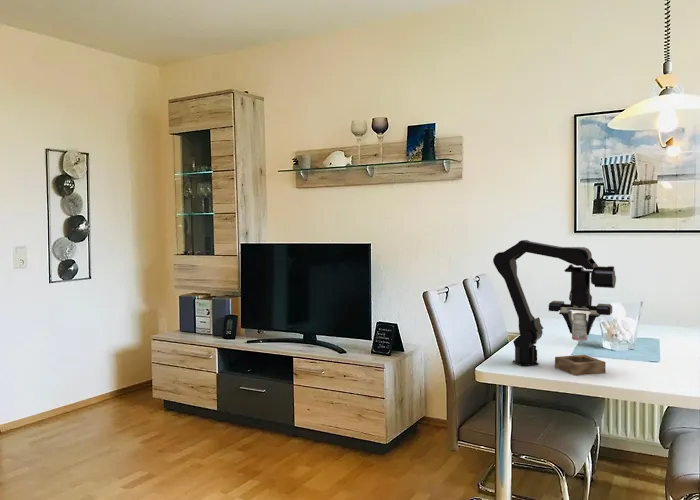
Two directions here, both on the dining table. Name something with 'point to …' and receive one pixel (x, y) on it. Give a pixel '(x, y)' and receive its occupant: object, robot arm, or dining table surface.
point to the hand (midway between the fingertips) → (579, 334)
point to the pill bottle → (579, 327)
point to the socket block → (580, 364)
